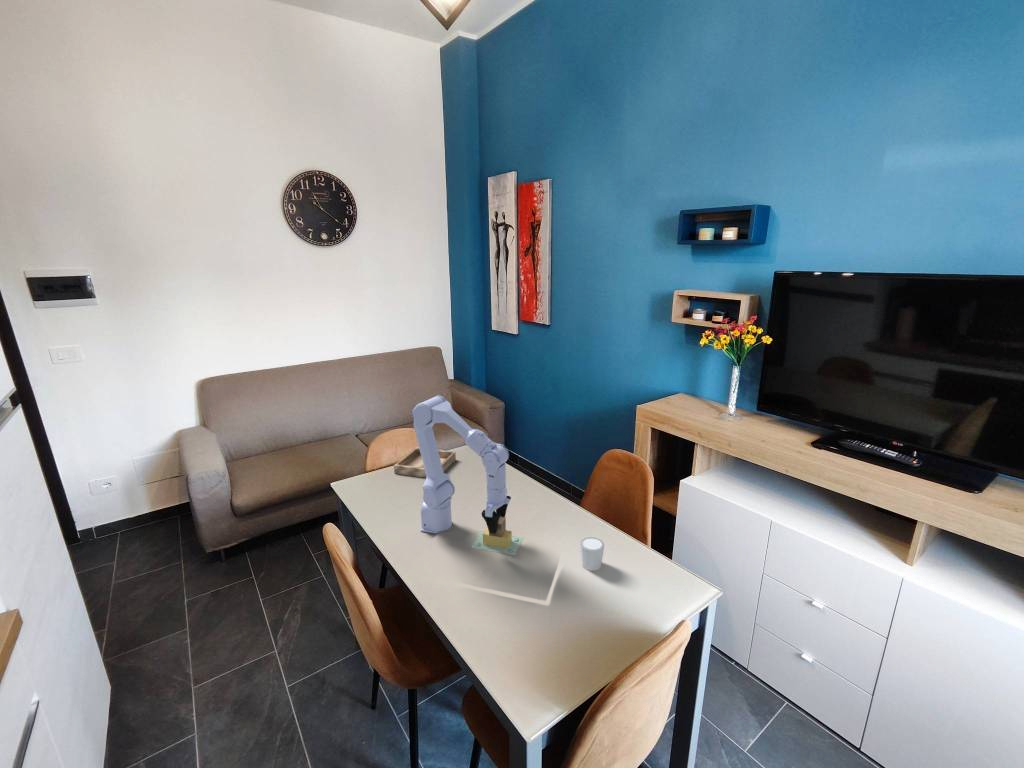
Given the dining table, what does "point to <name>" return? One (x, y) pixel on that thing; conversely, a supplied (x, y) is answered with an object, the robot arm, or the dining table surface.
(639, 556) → the dining table surface
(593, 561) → the shot glass
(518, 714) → the dining table surface
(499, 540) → the ochre brick
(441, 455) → the tan wooden shallow tray
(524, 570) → the dining table surface
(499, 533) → the walnut block
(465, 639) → the dining table surface
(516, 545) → the plate
